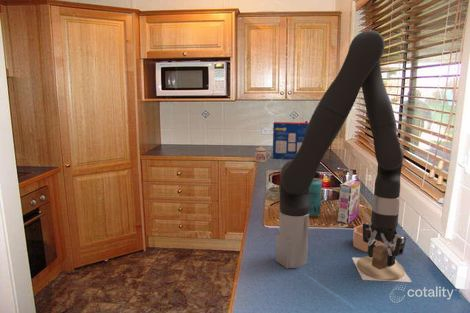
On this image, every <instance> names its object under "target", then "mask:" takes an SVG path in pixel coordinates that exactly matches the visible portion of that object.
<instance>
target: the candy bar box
mask: <svg viewBox="0 0 470 313" xmlns="http://www.w3.org/2000/svg"><path fill="white" fill-rule="evenodd" d="M361 182H362V181H359V180H354V179H349V180H347V181H345V182H343V183H340V184H339V195H338V196H339V197H338V206H337V208H338V209H337V210H338V211H337V221H336V222H339V223H343V224H346V225H349V223H351V222H353V221H354V220H355V219H357V218H358V216H359V205H360V204H359V202H360V195H361V194H360V192H361V184H362V183H361Z"/></svg>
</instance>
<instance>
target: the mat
mask: <svg viewBox="0 0 470 313" xmlns="http://www.w3.org/2000/svg"><path fill="white" fill-rule="evenodd" d="M360 258H361V257H351V259H352V261H353V263H354V265H355V267H356V269H357V271H358V273H359V276H360V277H361V279H362V281H379V282H397V283H398V282H401V283H402V282H403V283H413V282H412V279H411V278H410V277H409V275H408V274H407V273H406V271H404V276H403V277H402V278H400V279H398V280H379V279H375V278H372V277H369V276H367V275H365V274H363V273H362V272H361V271H360V270H359V269H358V268H357V261H358V260H359V259H360ZM395 261H396V262H398V261H397V259H396V258H395Z"/></svg>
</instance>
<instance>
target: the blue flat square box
mask: <svg viewBox="0 0 470 313" xmlns="http://www.w3.org/2000/svg"><path fill="white" fill-rule="evenodd" d="M308 124H309V122H291V121H290V122H287V121H286V122H285V121H284V122H283V121H281V122H280V121H274V122H273V128H272V160H293V159H294V157H295V156H296V154H297V152H298V151H299V149H300V147H301V145H302V142H303V139H304V136H305V133H306V130H307V127H308Z"/></svg>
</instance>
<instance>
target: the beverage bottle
mask: <svg viewBox="0 0 470 313" xmlns="http://www.w3.org/2000/svg"><path fill="white" fill-rule="evenodd" d="M320 178H321V174H320V172H318V171H316V174H315V176H314V178H313V181H312V183H311V185H310V187H309V205H310V207H309V217H310V216H311V217H317V216H319V215H320V214H321V208H322V207H321V205H322V203H321V202H322V185H323V183H322V181H321V180H320Z"/></svg>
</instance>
